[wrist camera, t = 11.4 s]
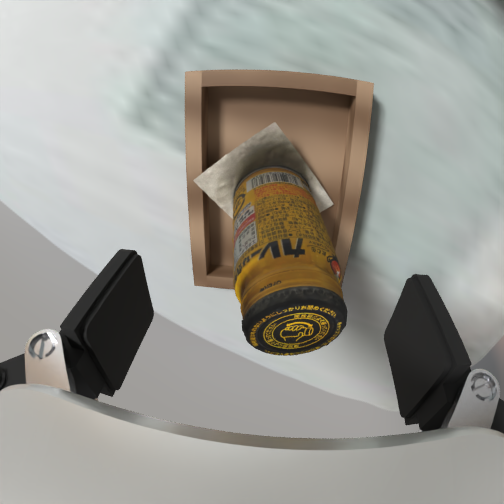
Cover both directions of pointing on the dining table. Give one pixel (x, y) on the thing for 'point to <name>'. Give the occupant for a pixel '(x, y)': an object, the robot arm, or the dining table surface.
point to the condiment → (279, 245)
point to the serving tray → (298, 133)
